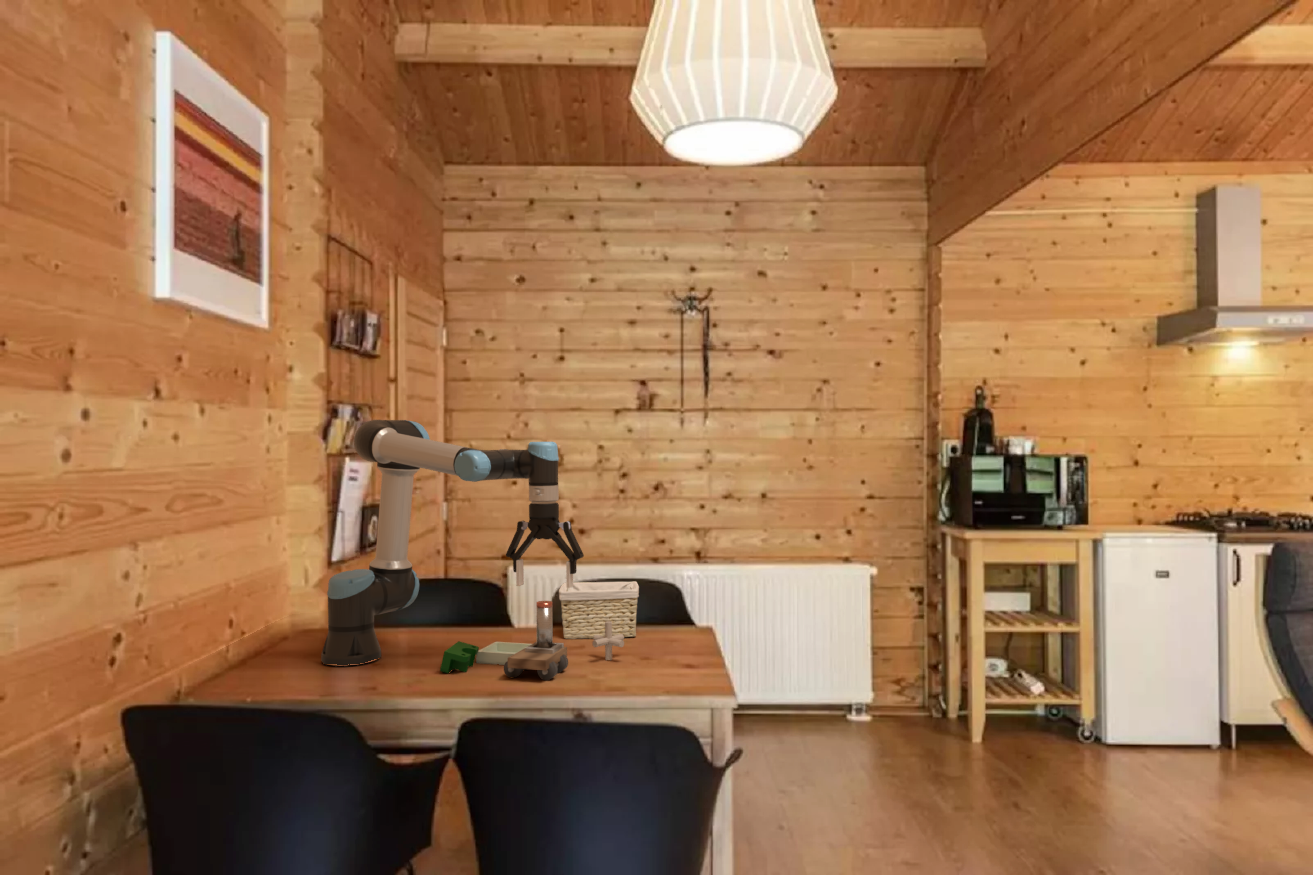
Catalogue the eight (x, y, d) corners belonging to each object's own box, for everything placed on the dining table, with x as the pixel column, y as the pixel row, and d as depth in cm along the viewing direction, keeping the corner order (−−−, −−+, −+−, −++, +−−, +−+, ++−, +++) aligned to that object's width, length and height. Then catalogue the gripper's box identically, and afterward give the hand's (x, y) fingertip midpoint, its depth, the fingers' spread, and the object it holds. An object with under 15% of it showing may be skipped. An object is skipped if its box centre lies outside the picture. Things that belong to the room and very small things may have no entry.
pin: (534, 650, 217) (533, 603, 217) (540, 647, 220) (540, 600, 221) (548, 651, 216) (548, 603, 216) (555, 648, 219) (554, 601, 219)
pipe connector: (582, 660, 229) (581, 622, 229) (609, 653, 236) (608, 616, 236) (608, 666, 222) (607, 627, 222) (635, 659, 229) (634, 621, 230)
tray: (476, 663, 227) (476, 651, 227) (495, 652, 238) (495, 641, 238) (516, 665, 224) (516, 654, 224) (534, 655, 235) (534, 644, 235)
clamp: (461, 690, 217) (464, 662, 214) (438, 684, 218) (441, 655, 214) (478, 661, 228) (481, 633, 224) (457, 655, 229) (460, 627, 225)
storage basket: (558, 640, 252) (557, 590, 252) (562, 628, 269) (562, 581, 269) (639, 639, 253) (639, 589, 253) (638, 627, 269) (638, 580, 269)
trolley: (499, 679, 210) (499, 653, 210) (523, 665, 224) (523, 640, 224) (550, 683, 207) (550, 656, 207) (571, 668, 220) (571, 643, 220)
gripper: (492, 503, 218) (493, 586, 218) (585, 503, 211) (586, 590, 211) (505, 501, 225) (506, 582, 225) (595, 501, 219) (596, 585, 218)
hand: (544, 586), depth 218 cm, fingers open, 13 cm apart
